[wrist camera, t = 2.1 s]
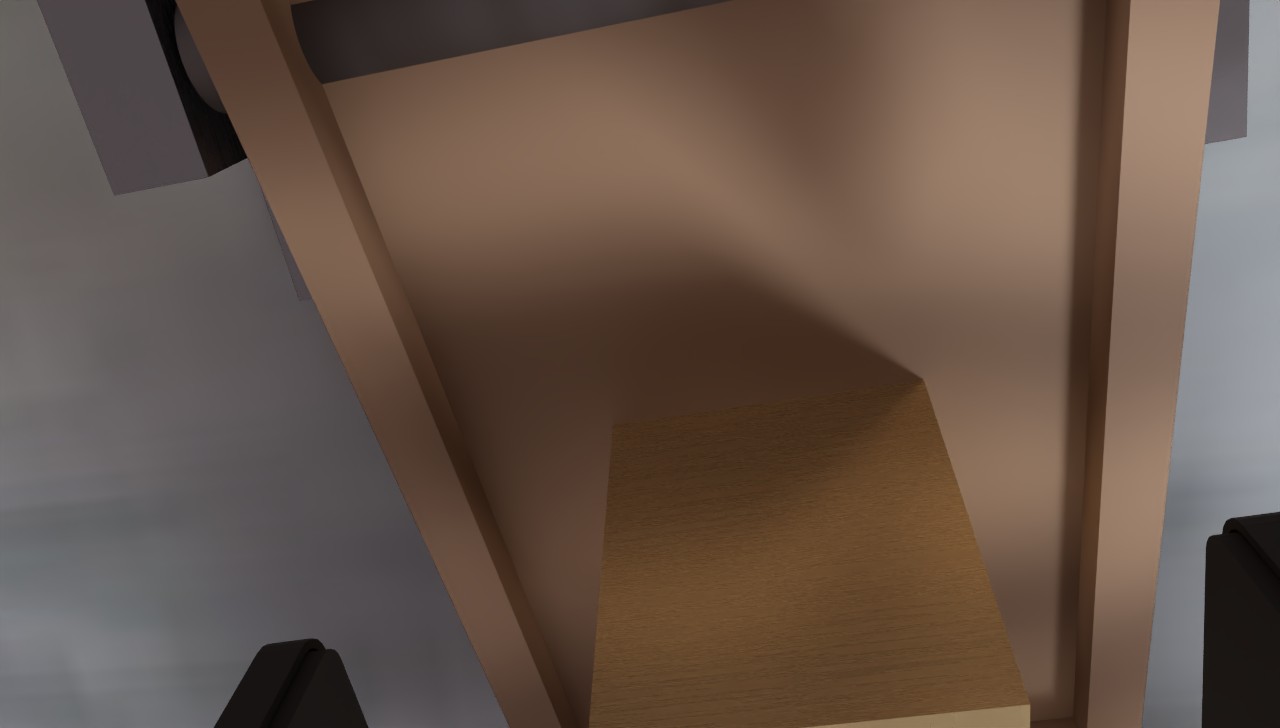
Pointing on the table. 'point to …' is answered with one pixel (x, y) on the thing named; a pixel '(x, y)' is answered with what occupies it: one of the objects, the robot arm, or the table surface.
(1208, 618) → the robot arm
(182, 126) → the beam stand
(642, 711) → the rider
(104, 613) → the table surface
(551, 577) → the beam
